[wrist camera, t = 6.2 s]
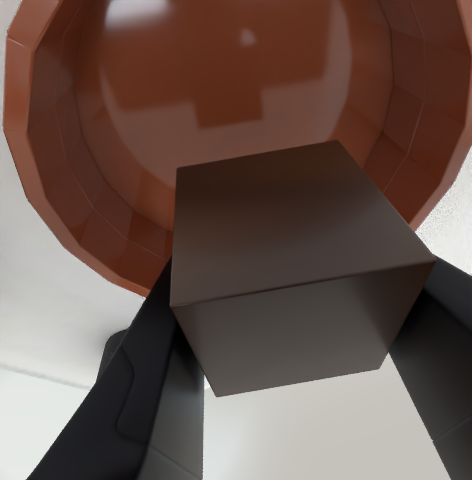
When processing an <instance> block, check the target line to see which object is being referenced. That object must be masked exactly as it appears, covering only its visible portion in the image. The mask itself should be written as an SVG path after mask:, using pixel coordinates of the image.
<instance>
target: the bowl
mask: <svg viewBox="0 0 472 480" xmlns="http://www.w3.org/2000/svg"><path fill="white" fill-rule="evenodd" d="M7 34H8V35H7V36H6V47H5V74H4V100H3V131H4V134H5V137H6V140H7V143H8V146H9V148H10V151H11V154H12V157H13V160H14V163H15V166H16V169H17V172H18V175H19V177H20V180H21V183H22V186H23V189H24V192H25V195H26V198H27V199H28V201H29V203H30V204H31V205H32V207H33V208H34V209H35V210H36V212H37V213H38V214H39V216H40V217H41V218H42V220H43V221H44V222H45V223H46V225H47V226H48V227H49V229H50V230H51V231H52V233H53V234H54V235H55V236H56V238H57V239H58V240H59V242H60V243H61V244H62V246H63V247H64V248H65V249H66V250H67V251H69V252H70V253H71V254H73V255H74V256H75V257H77V258H78V259H79V260H81V261H82V262H83V263H85V264H86V265H87V266H89V267H90V268H91V269H93V270H94V271H95V272H97V273H98V274H99V275H101V276H102V277H103V278H105V279H106V280H108V281H110V282H111V283H113V284H115V285H118V286H120V287H122V288H125V289H127V290H129V291H132V292H134V293H136V294H139V295H141V296H144V297H146V298H147V296H148V294H149V292H150V291H151V289H152V287H153V286H154V284H155V282H156V280H157V279H158V277H159V275H160V274H161V272H162V270H163V268H164V267H165V265H166V263H167V262H168V260H169V258H170V257H171V255H172V250H173V229H174V208H175V188H176V169H177V168H178V167H184V166H189V165H195V164H201V163H207V162H212V161H218V160H224V159H229V158H235V157H241V156H247V155H252V154H258V153H264V152H269V151H275V150H281V149H287V148H292V147H298V146H304V145H309V144H315V143H321V142H327V141H332V140H339V141H340V143H341V144H342V145H343V146H344V148H345V149H346V150H347V151H348V152H349V154H350V155H351V156H352V157H353V158H354V160H355V161H356V162H357V163H358V164H359V166H360V167H361V168H362V169H363V171H364V172H365V173H366V174H367V175H368V177H369V178H370V179H371V180H372V181H373V183H374V184H375V185H376V186H377V187H378V189H379V190H380V191H381V192H382V193H383V195H384V196H385V197H386V198H387V200H388V201H389V202H390V203H391V204H392V206H393V207H394V208H395V209H396V210H397V212H398V213H399V214H400V215H401V216H402V218H403V219H404V220H405V221H406V223H407V224H408V225H409V226H410V227H411V229H412V230H413V231H414V232H415V231H416V230H417V228H418V227H419V226H420V225H421V224H422V222H423V221H424V220H425V219H426V217H427V216H428V215H429V214H430V212H431V211H432V210H433V209H434V207H435V206H436V205H437V204H438V202H439V201H440V200H441V199H442V197H443V196H444V195H445V193H446V192H447V191H448V190H449V188H450V187H451V186H452V185H453V182H454V181H455V180H456V178H457V176H458V173H459V171H460V169H461V167H462V165H463V163H464V161H465V158H466V156H467V154H468V152H469V150H470V148H471V146H472V0H22V1H21V3H20V5H19V7H18V9H17V11H16V13H15V16H14V18H13V20H12V22H11V24H10V26H9V28H8V30H7Z"/></svg>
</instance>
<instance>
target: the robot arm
mask: <svg viewBox="0 0 472 480" xmlns="http://www.w3.org/2000/svg"><path fill="white" fill-rule="evenodd" d="M433 255H434V254H433ZM434 256H435V258H436V259H437V262H436V264H435V266H434V267H433V269H432V271H431V273H430V275H429V277H428V279H427V281H426V282H425V284H424V286H423V288H422V290H421V292H420V294H419V295H418V297H417V299H416V301H415V303H414V305H413V307H412V309H411V310H410V312H409V314H408V316H407V318H406V320H405V322H404V324H403V325H402V327H401V329H400V331H399V333H398V335H397V337H396V339H395V340H394V342H393V344H392V346H391V348H390V350H389V354H390V356H391V358H392V360H393V362H394V364H395V366H396V368H397V370H398V372H399V374H400V376H401V378H402V380H403V382H404V384H405V386H406V388H407V391H408V392H409V394H410V397H411V399H412V401H413V403H414V405H415V407H416V409H417V411H418V413H419V415H420V417H421V419H422V421H423V423H424V425H425V427H426V429H427V431H428V433H429V435H430V437H431V439H432V440H433V444H434V446H435V447H436V450H437V452H438V454H439V456H440V458H441V460H442V462H443V464H444V466H445V468H446V470H447V472H448V474H449V476H450V478H451V480H472V276H471V275H469V274H467V273H465V272H464V271H462V270H460V269H458V268H457V267H455V266H453V265H451V264H450V263H448V262H446V261H444V260H443V259H441V258H439V257H437V256H436V255H434ZM171 270H172V255H171V257H170V258H169V260H168V262H167V263H166V265H165V267H164V268H163V270H162V272H161V274H160V275H159V277H158V279H157V280H156V282H155V284H154V286H153V287H152V289H151V291H150V292H149V294H148V296H147V298H146V299H145V301H144V303H143V304H142V306H141V308H140V310H139V311H138V313H137V315H136V316H135V318H134V320H133V322H132V323H131V325H130V327H129V328H128V330H127V332H126V333H125V335H124V337H123V339H122V340H121V342H120V345H121V346H118V347H117V349H116V350H115V352H114V354H113V355H112V357H111V359H110V361H109V362H108V364H107V365H106V367H105V369H104V370H103V372H102V374H101V375H100V377H99V378H98V380H97V381H96V383H95V384H94V386H93V387H92V389H91V390H90V392H89V393H88V395H87V396H86V398H85V399H84V401H83V402H82V404H81V405H80V407H79V408H78V409H77V411H76V412H75V413H74V415H73V416H72V418H71V419H70V420H69V422H68V423H67V425H66V426H65V427H64V429H63V430H62V432H61V433H60V434H59V436H58V437H57V439H56V440H55V441H54V443H53V444H52V446H51V447H50V449H49V450H48V451H47V453H46V454H45V455H44V457H43V458H42V460H41V461H40V463H39V464H38V465H37V467H36V468H35V469H34V471H33V472H32V473H31V474H30V475H29V477H28V478H27V479H26V480H202V479H203V478H202V477H203V475H202V473H203V420H204V417H203V416H204V415H203V414H204V372H203V370H202V369H201V367H200V365H199V363H198V361H197V359H196V357H195V355H194V353H193V351H192V349H191V347H190V345H189V343H188V341H187V339H186V337H185V335H184V333H183V331H182V329H181V327H180V325H179V323H178V322H177V320H176V318H175V316H174V314H173V312H172V310H171V308H170V291H171Z"/></svg>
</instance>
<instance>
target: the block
mask: <svg viewBox="0 0 472 480" xmlns="http://www.w3.org/2000/svg"><path fill="white" fill-rule="evenodd" d="M436 262H437V259H436V258H435V256H434V255H433V254H432V253H431V252H430V250H429V249H428V248H427V247H426V245H425V244H424V243H423V242H422V241H421V239H420V238H419V237H418V236H417V235H416V233H415V232H414V231H413V230H412V229H411V227H410V226H409V225H408V224H407V223H406V221H405V220H404V219H403V218H402V216H401V215H400V214H399V213H398V212H397V210H396V209H395V208H394V207H393V206H392V204H391V203H390V202H389V201H388V200H387V198H386V197H385V196H384V195H383V193H382V192H381V191H380V190H379V189H378V187H377V186H376V185H375V184H374V183H373V181H372V180H371V179H370V178H369V177H368V175H367V174H366V173H365V172H364V171H363V169H362V168H361V167H360V166H359V164H358V163H357V162H356V161H355V160H354V158H353V157H352V156H351V155H350V154H349V152H348V151H347V150H346V149H345V148H344V146H343V145H342V144H341V143H340V141H339V140H332V141H327V142H321V143H315V144H309V145H304V146H298V147H292V148H287V149H281V150H275V151H269V152H264V153H258V154H252V155H247V156H241V157H235V158H229V159H224V160H218V161H212V162H207V163H201V164H195V165H189V166H184V167H178V168H177V169H176V188H175V208H174V229H173V250H172V270H171V291H170V308H171V310H172V312H173V314H174V316H175V318H176V320H177V322H178V323H179V325H180V327H181V329H182V331H183V333H184V335H185V337H186V339H187V341H188V343H189V345H190V347H191V349H192V351H193V353H194V355H195V357H196V359H197V361H198V363H199V365H200V367H201V369H202V370H203V372H204V374H205V376H206V378H207V380H208V382H209V384H210V386H211V388H212V390H213V392H214V394H215V396H216V397H221V396H228V395H233V394H239V393H245V392H250V391H256V390H262V389H268V388H274V387H279V386H285V385H291V384H296V383H302V382H308V381H313V380H319V379H325V378H331V377H337V376H342V375H348V374H354V373H359V372H365V371H371V370H377V369H379V368H380V366H381V365H382V363H383V361H384V359H385V357H386V355H387V354H388V352H389V350H390V348H391V346H392V344H393V342H394V340H395V339H396V337H397V335H398V333H399V331H400V329H401V327H402V325H403V324H404V322H405V320H406V318H407V316H408V314H409V312H410V310H411V309H412V307H413V305H414V303H415V301H416V299H417V297H418V295H419V294H420V292H421V290H422V288H423V286H424V284H425V282H426V281H427V279H428V277H429V275H430V273H431V271H432V269H433V267H434V266H435V264H436Z"/></svg>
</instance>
